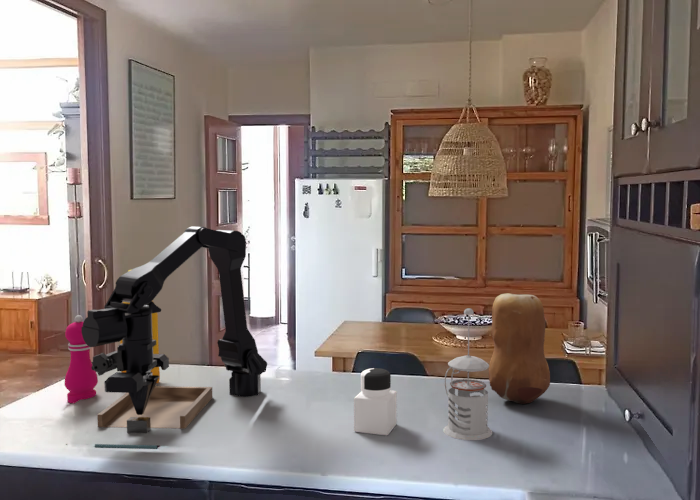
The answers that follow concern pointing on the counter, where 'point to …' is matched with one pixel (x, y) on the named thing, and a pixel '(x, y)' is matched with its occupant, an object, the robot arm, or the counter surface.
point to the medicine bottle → (375, 403)
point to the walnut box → (159, 407)
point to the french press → (467, 399)
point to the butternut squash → (518, 348)
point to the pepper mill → (79, 365)
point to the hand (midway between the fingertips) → (140, 414)
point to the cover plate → (134, 427)
